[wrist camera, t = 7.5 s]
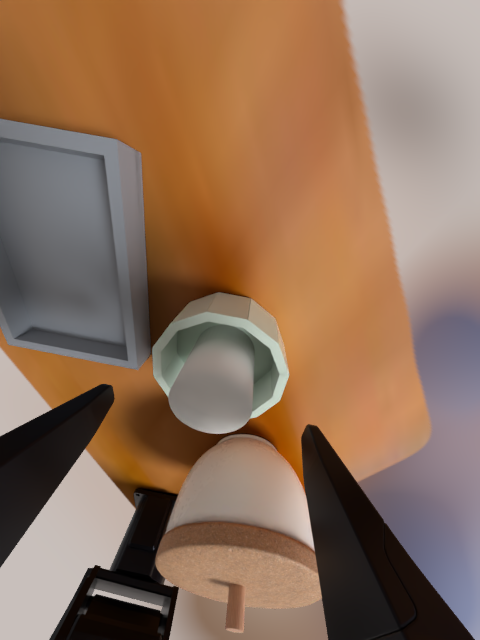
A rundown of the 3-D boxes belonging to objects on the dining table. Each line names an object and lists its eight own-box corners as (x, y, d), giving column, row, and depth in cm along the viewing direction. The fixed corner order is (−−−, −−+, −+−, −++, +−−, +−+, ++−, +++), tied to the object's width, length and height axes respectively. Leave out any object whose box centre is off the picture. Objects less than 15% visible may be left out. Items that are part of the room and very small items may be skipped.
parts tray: (151, 353, 15) (137, 369, 13) (35, 331, 15) (8, 344, 14) (140, 153, 10) (116, 139, 8) (-40, 121, 10) (-99, 101, 8)
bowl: (267, 394, 16) (269, 430, 13) (173, 376, 16) (154, 407, 13) (295, 306, 12) (305, 330, 10) (174, 283, 12) (149, 301, 10)
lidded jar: (171, 447, 20) (106, 608, 12) (244, 396, 16) (225, 588, 8) (247, 494, 23) (239, 653, 14) (327, 460, 19) (381, 656, 10)
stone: (260, 331, 13) (260, 382, 9) (248, 379, 14) (244, 440, 10) (197, 319, 13) (168, 365, 9) (194, 368, 14) (168, 425, 10)
